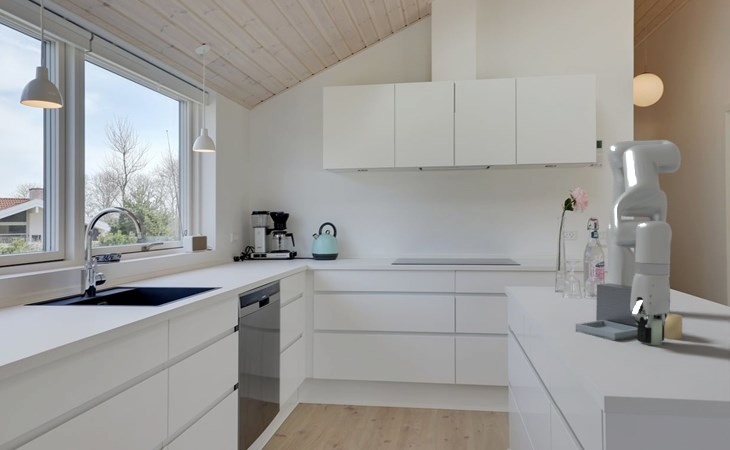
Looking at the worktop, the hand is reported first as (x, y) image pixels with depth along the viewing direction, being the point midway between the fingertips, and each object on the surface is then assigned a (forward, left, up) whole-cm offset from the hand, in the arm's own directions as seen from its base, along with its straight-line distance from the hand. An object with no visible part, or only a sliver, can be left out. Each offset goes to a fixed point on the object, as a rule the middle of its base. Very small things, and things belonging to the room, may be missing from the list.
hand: (650, 340), depth 117 cm
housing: (-9, -13, -1) cm, 16 cm away
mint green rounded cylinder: (0, 0, -1) cm, 1 cm away
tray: (+1, -11, -1) cm, 11 cm away
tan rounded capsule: (-11, -1, -1) cm, 11 cm away
